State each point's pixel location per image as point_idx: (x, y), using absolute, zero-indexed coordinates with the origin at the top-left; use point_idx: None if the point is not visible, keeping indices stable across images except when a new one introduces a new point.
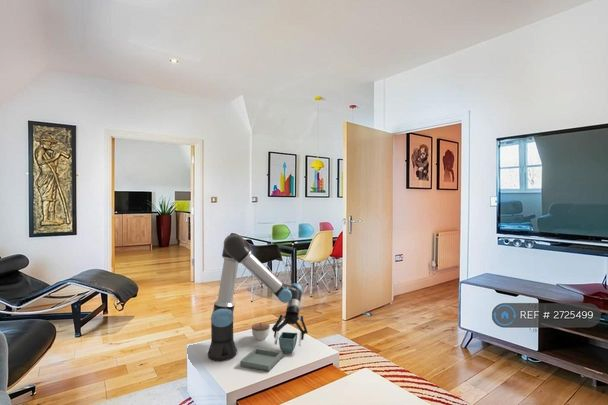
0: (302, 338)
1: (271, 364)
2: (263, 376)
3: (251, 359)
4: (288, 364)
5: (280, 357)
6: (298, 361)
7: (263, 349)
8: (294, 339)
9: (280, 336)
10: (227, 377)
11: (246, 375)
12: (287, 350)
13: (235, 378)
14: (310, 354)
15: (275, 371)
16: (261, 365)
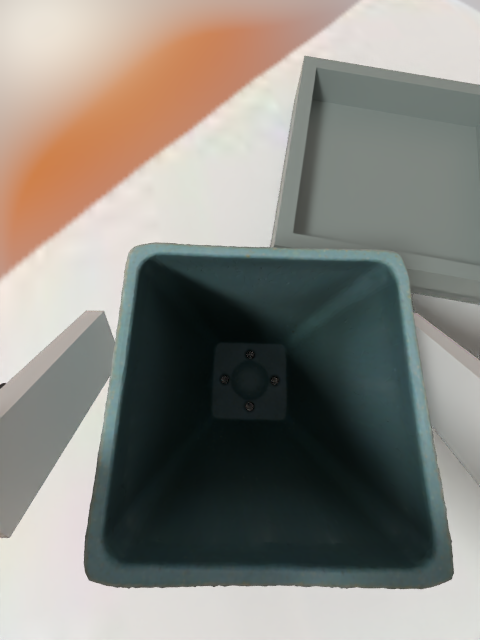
0: (2, 385)
1: (297, 95)
2: None
3: (460, 184)
4: (203, 190)
5: (274, 229)
6: (141, 234)
7: (456, 271)
8: (132, 284)
9: (401, 334)
10: (471, 46)
11: (393, 67)
12: (244, 321)
13: (430, 42)
14: None
15: (260, 112)
16: (354, 71)
